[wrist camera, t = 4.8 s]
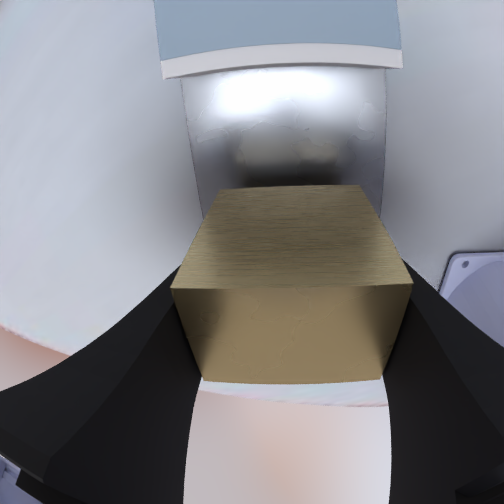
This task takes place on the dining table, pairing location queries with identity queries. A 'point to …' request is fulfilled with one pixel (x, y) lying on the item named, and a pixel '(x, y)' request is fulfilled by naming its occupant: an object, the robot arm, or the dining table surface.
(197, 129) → the vise
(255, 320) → the tan wooden block
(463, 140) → the dining table surface
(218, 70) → the block
